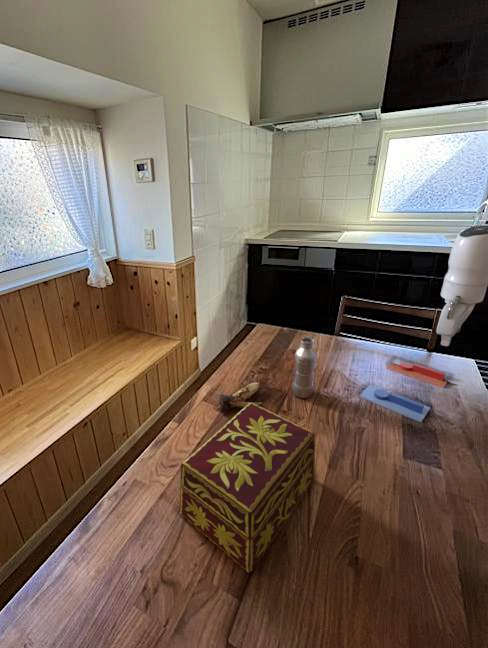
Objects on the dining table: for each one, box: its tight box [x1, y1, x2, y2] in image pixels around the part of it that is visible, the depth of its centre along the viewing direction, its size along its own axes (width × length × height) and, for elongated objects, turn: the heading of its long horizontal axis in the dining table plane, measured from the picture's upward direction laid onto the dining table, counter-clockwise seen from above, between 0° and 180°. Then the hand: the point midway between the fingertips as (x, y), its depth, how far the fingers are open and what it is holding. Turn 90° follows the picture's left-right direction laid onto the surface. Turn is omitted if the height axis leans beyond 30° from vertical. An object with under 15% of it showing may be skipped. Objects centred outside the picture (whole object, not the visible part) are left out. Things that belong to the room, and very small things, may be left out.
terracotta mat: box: [386, 362, 449, 389], centre depth 115 cm, size 17×8×1 cm, turn 42°
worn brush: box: [217, 381, 263, 413], centre depth 106 cm, size 9×5×18 cm
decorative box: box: [179, 401, 316, 574], centre depth 74 cm, size 28×19×15 cm
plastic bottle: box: [291, 336, 318, 399], centre depth 105 cm, size 6×7×20 cm
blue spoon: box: [374, 388, 425, 414], centre depth 101 cm, size 13×4×2 cm, turn 42°
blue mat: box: [359, 384, 431, 423], centre depth 102 cm, size 17×8×1 cm, turn 42°
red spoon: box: [399, 361, 447, 381], centre depth 114 cm, size 13×4×2 cm, turn 42°
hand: (450, 338), depth 92 cm, fingers open, 8 cm apart
